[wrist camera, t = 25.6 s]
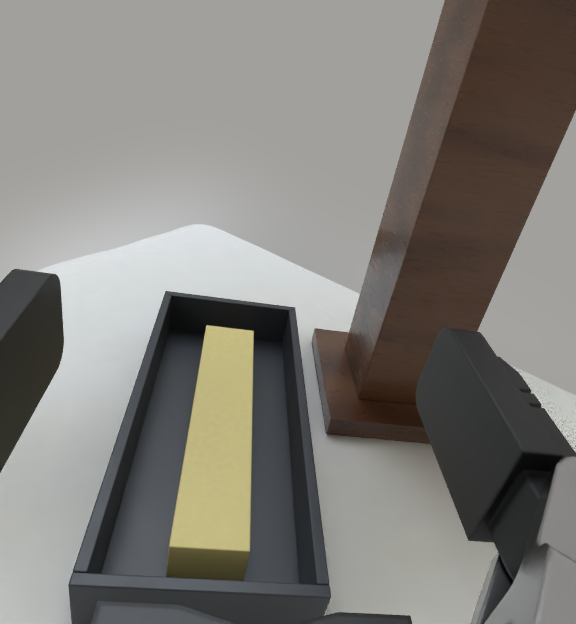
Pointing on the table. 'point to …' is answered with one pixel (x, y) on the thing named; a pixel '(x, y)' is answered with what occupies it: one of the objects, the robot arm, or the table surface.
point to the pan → (168, 466)
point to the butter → (217, 464)
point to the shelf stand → (452, 204)
